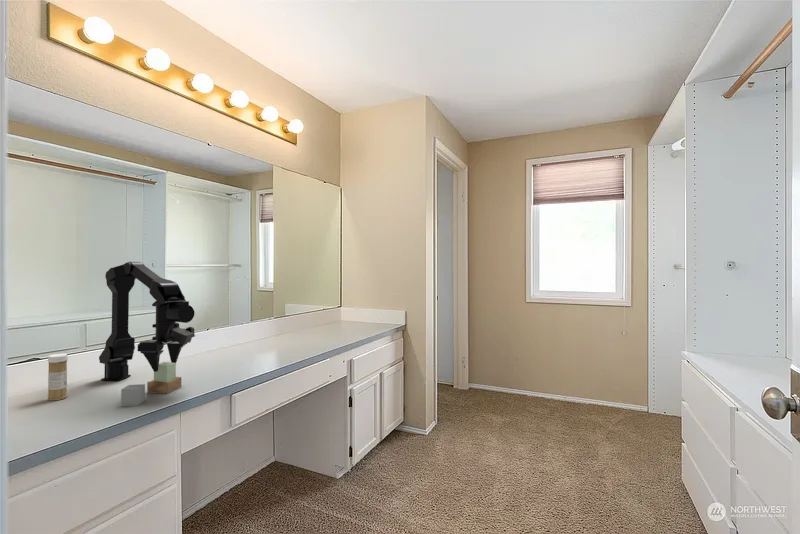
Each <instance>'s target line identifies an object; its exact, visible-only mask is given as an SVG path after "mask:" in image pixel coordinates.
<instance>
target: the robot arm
mask: <svg viewBox="0 0 800 534" xmlns="http://www.w3.org/2000/svg"><path fill="white" fill-rule="evenodd" d="M105 279H106V286H107V287H108V289H109V290H110V292H111V332H110V334H109V336H108V338H107V340H106V341H105V346H104V349H103V350H102V352H101V353H100V355H99V357H98V360H99V361H98V362H99V364H102V365H104V377H103V378H100V381H105V382H106V381H110V382H111V381H112V382H119V381H121V380H124V379H126V378H129V377H131V376H132V375H131V374H129V363H128V361H130V360H133V357H134V353H135V348H136V346H135V342H136V339H135V337H132V335H130V333H129V308H130V304H129V303H130V302H129V301H130V298H129V297H130V291H132V289H133V287H134V286H135V281H136V280H138V281H139V282H140V283H142V284H143V285H144V286H146V287H147V288H148V289H149V292H148V293H149V294H150V295H151V296H152V298H153V299H154V300H155V301H154V302H153V303H152V304H151V306H152V307H155V323H154V324H151V325H152V328H153V329H155V335H154V336H152V339H150V340H149V339H147V340H144V341H140V342H139V343H138V344H137V352H140V354H143V356H144V357H145V360H147V362H148V364H149V365H150V368H151V369H152V371H153V373H154V372H157V371H158V367H159V364H160V358H161V357H160V356H161V355H162V354H163V352H164V350H163V349H164V346H167V350H168V356H169V358H170V362H171V363H176V364H177V361H178V358H179V355H180V353H181V351H182V349H183V348H184V347H185V346H186V345H187V344H188V343H191V342H192V338H195V337H196V335H195V333H196V332H195V327H192V326H188V327H185V328H182V327H180V323H185V324H187V323H190V322H191V321H192V320H193V319H194V317H195V314H196V313H195V310H194V308H193V306H191V305H190V301H189V300H186V297H185V296H184V294H183V292H182V290H181V288H180V286H179V284H178V283H177V282H176V281H173V280H171V279H167V278H162V277H161V276H160V275H158V274H156V272H154V271H153V270H152V269H150V268H149V267H147V266H146V265H145V263H144V262H141V261H128V262H125V263H124V264H121V265H117V266H114V267H110V268H109V269H108V270H107V271H105Z"/></svg>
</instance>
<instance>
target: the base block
mask: <svg viewBox="0 0 800 534" xmlns="http://www.w3.org/2000/svg"><path fill="white" fill-rule="evenodd" d="M146 385H147V387H146V389H147V390H146V393H148V394H149V393H150V394H165V393H168V394H170V393H172V392H174V391H176V390H178V389H181V388H182V376H176V378H174V379H171V380H169V381H154V379H151V380H149V381H147V383H146Z"/></svg>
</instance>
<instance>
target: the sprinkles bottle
mask: <svg viewBox="0 0 800 534" xmlns="http://www.w3.org/2000/svg"><path fill="white" fill-rule="evenodd" d="M47 362H48V363H47V364H48V379H47V391H48V393H47V400H48V401H60V400H63V399H66V398H67V397H68V395H67V386H68V363H67V362H68V354H67V353H54V354H53V353H52V354H49V355H48V356H47Z"/></svg>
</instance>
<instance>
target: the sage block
mask: <svg viewBox="0 0 800 534" xmlns="http://www.w3.org/2000/svg"><path fill="white" fill-rule="evenodd" d="M176 377H177V362H176V363H172V362H171V361H170V362H165V361H163V362H159V367H158V371H157V372H154V371H153V380H154V381H169V380H171V379H174V378H176Z"/></svg>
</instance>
